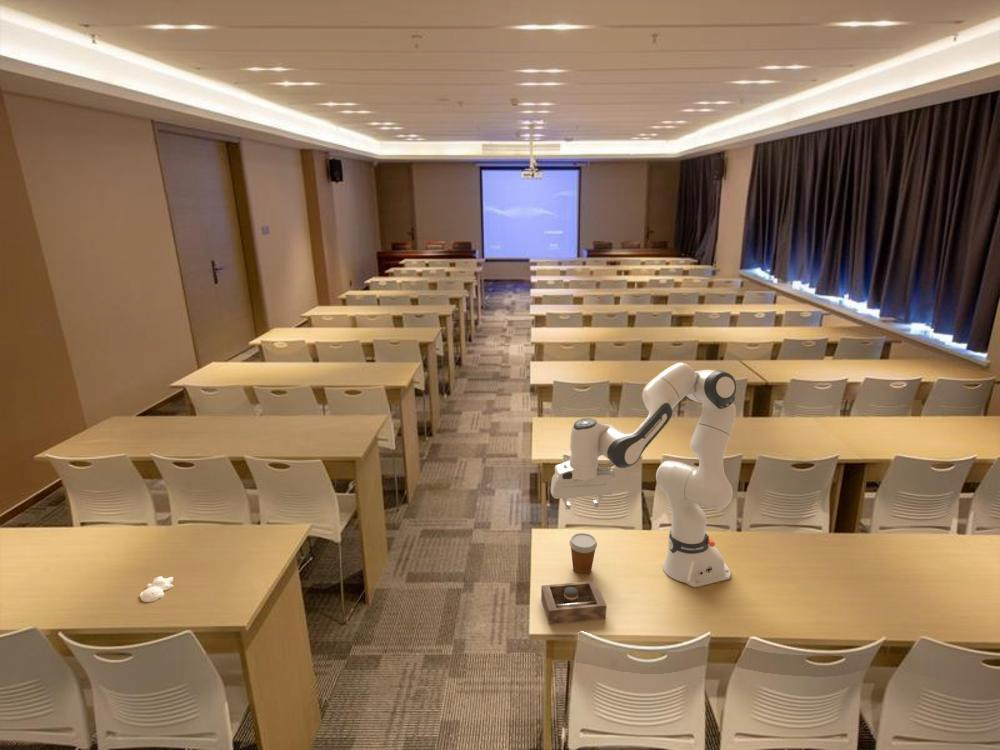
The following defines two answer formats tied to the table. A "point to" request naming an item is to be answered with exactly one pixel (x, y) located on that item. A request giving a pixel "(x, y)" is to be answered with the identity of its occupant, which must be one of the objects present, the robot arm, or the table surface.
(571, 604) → the metal rod
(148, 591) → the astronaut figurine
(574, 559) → the disposable coffee cup
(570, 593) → the orange-banded dark cylinder
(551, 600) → the brown wooden frame
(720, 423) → the robot arm
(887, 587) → the table surface
